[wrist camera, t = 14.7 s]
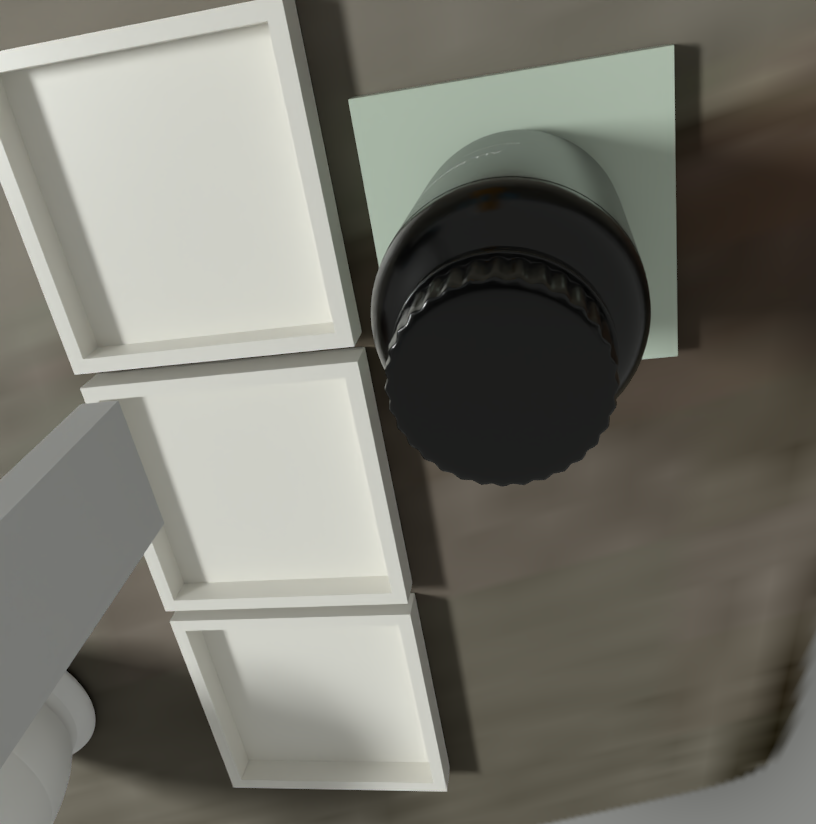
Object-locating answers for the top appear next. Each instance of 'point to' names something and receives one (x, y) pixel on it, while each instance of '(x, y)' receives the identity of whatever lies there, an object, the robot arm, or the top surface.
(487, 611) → the top surface
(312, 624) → the tray
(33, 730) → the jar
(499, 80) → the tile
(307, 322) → the tray
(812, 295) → the top surface
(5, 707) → the robot arm
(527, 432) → the supplement bottle
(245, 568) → the tray middle
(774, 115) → the top surface
